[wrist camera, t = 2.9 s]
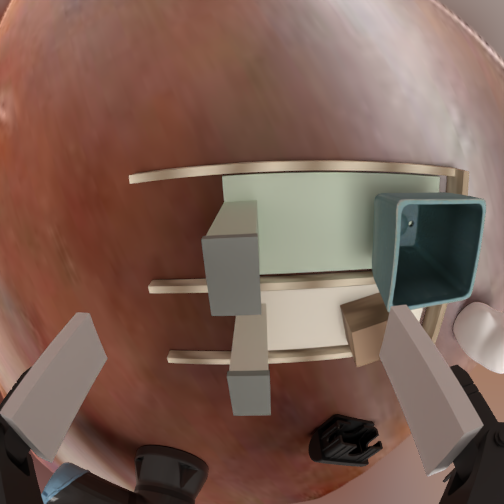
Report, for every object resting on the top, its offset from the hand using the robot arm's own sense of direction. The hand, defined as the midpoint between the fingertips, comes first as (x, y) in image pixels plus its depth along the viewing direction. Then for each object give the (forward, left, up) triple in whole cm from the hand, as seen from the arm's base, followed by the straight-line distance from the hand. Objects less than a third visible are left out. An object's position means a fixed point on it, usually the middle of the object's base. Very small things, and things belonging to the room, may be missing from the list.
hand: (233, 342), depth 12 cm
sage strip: (+9, 0, -17) cm, 19 cm away
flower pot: (+15, 0, -17) cm, 22 cm away
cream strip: (+9, -11, -17) cm, 23 cm away
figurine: (+30, -14, -18) cm, 38 cm away
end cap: (+13, -35, -18) cm, 42 cm away
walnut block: (+12, -11, -17) cm, 24 cm away
